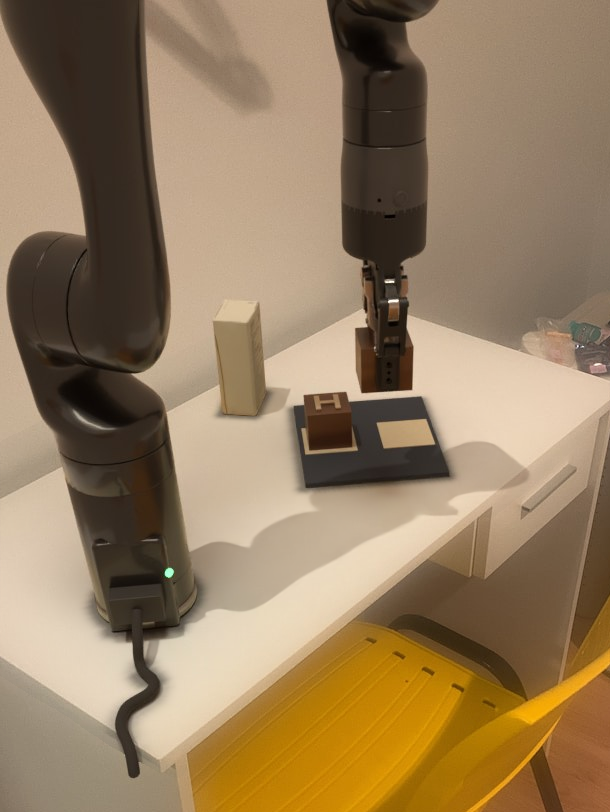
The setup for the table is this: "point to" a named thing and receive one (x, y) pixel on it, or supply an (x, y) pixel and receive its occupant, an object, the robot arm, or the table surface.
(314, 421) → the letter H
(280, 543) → the table surface
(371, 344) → the brown letter i block
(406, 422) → the word mat
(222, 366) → the cosmetic box
